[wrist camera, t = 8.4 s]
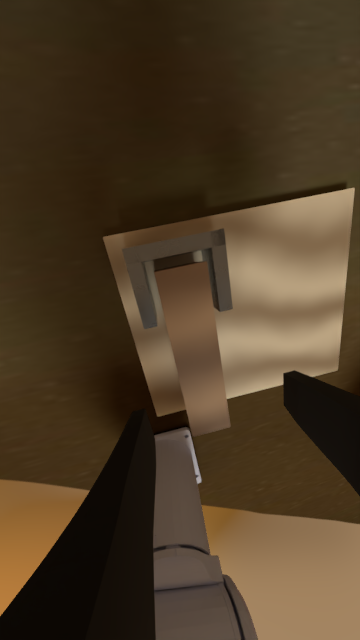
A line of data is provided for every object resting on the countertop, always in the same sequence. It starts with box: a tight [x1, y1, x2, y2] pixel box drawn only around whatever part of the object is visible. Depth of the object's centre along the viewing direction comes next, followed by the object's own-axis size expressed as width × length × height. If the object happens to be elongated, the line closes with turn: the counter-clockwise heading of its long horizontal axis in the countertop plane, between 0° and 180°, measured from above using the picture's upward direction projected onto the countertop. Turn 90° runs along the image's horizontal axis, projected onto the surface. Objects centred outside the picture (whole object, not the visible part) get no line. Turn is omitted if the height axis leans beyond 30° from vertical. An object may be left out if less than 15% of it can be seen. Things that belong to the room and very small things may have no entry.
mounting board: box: [103, 188, 355, 417], centre depth 18 cm, size 18×21×1 cm
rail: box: [154, 261, 231, 437], centre depth 15 cm, size 14×3×4 cm, turn 11°
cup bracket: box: [122, 229, 233, 329], centre depth 14 cm, size 6×7×3 cm
